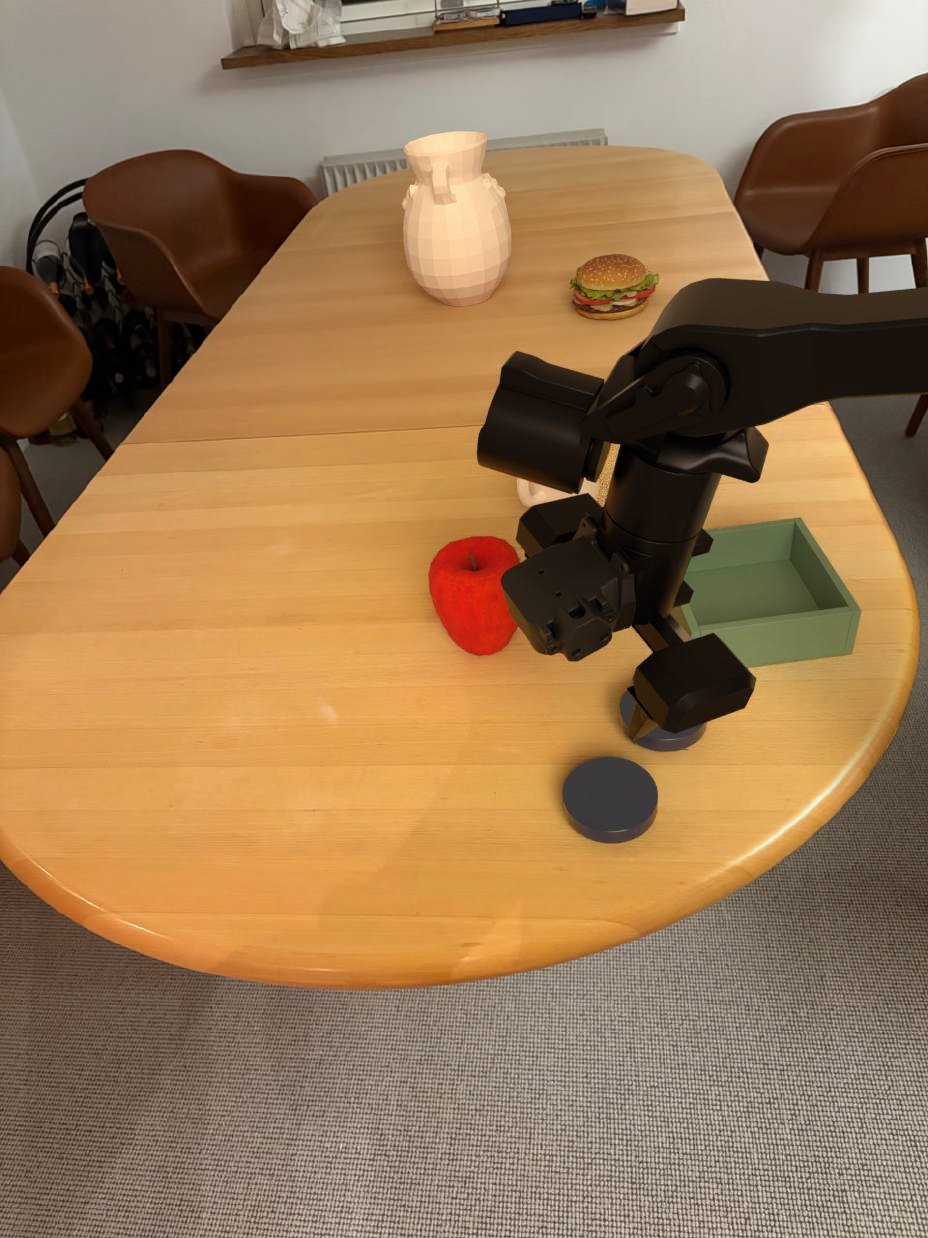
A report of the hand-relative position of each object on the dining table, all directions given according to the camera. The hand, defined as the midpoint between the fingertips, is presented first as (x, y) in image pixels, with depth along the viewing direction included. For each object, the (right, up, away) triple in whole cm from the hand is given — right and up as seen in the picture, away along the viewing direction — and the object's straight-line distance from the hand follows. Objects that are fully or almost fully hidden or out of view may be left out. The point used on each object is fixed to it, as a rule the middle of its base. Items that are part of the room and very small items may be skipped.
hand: (599, 687), depth 61 cm
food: (+15, +56, +83) cm, 102 cm away
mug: (+1, +18, +41) cm, 45 cm away
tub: (+17, +5, +23) cm, 29 cm away
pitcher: (-9, +62, +95) cm, 114 cm away
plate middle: (+7, -4, +13) cm, 16 cm away
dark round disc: (+2, -10, +7) cm, 13 cm away
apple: (-7, +3, +24) cm, 25 cm away
